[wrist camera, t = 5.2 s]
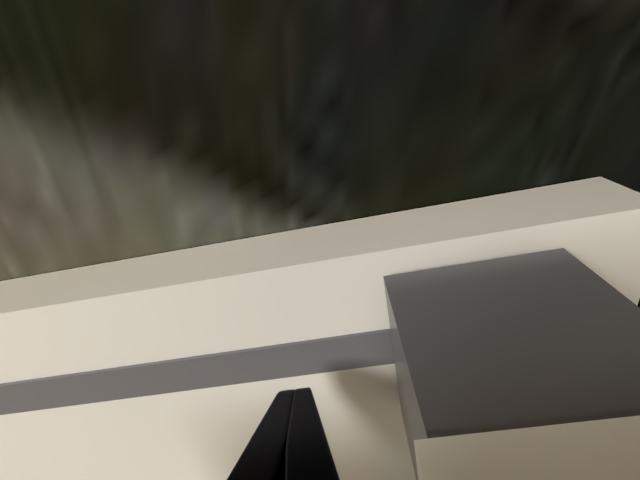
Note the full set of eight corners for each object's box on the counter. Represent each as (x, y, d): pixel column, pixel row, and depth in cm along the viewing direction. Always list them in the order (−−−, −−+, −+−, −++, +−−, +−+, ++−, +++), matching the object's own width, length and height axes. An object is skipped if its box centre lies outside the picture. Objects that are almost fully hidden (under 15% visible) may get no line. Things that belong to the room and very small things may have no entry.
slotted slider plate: (600, 176, 9) (670, 205, 7) (537, 515, 17) (563, 571, 15) (-131, 304, 11) (-219, 351, 10) (117, 551, 20) (96, 602, 18)
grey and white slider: (573, 238, 8) (936, 496, 3) (547, 401, 10) (727, 674, 6) (373, 270, 8) (436, 536, 4) (395, 418, 10) (449, 685, 6)
